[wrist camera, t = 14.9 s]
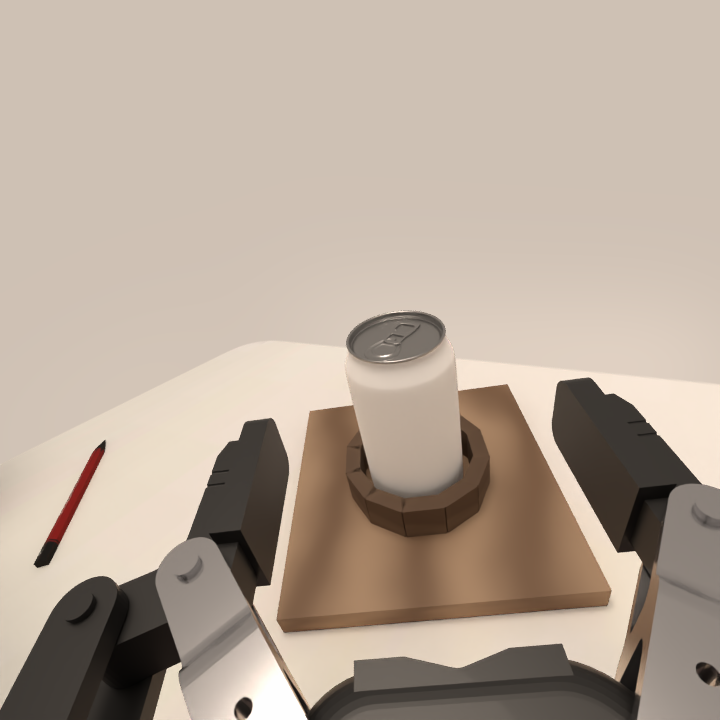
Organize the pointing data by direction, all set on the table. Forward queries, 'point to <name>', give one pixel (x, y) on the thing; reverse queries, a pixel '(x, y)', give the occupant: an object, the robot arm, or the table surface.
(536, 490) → the socket board
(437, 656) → the table surface
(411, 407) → the can
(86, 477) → the pencil
